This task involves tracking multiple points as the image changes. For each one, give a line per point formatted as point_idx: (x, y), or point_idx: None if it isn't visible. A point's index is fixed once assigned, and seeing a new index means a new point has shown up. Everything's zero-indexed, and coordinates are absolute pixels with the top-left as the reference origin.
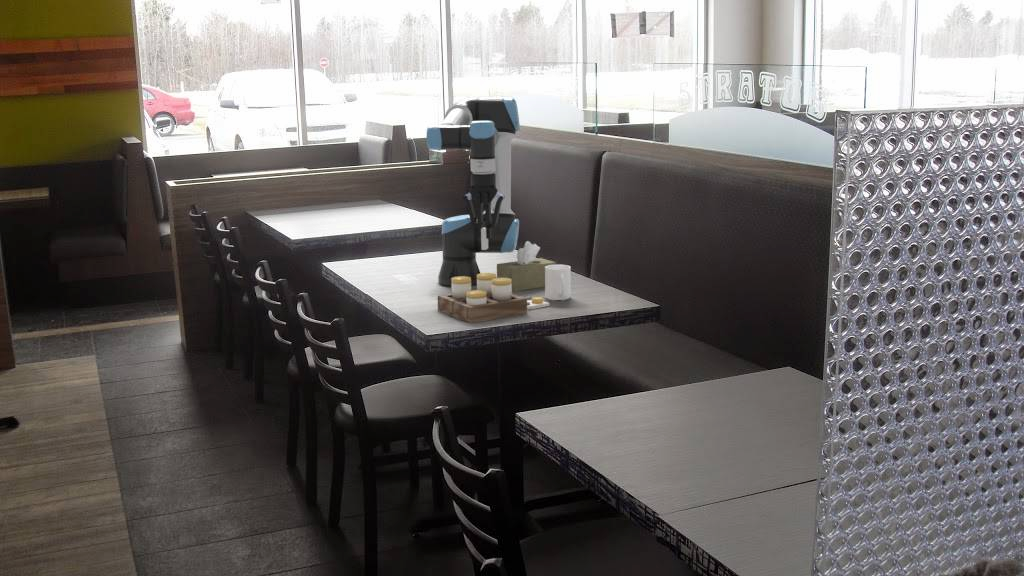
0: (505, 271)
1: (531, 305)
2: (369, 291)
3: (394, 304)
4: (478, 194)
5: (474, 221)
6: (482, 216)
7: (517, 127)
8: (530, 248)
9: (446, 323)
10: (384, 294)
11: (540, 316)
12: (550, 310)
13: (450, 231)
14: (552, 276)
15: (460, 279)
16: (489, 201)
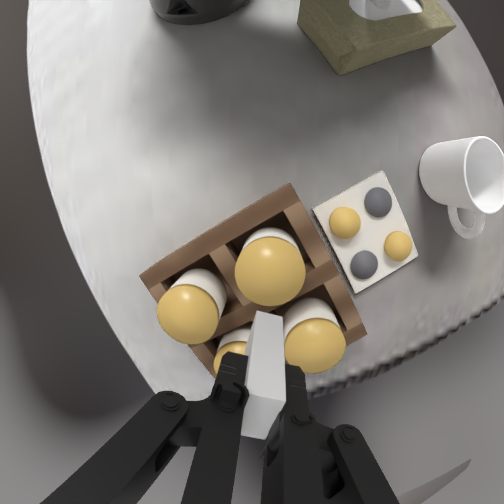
0: (330, 31)
1: (378, 276)
2: (36, 97)
3: (69, 203)
4: None
5: (168, 458)
6: (230, 484)
7: None
8: None
9: (188, 369)
10: (52, 115)
11: (377, 339)
12: (408, 292)
13: None
14: (463, 204)
15: (186, 333)
16: None
